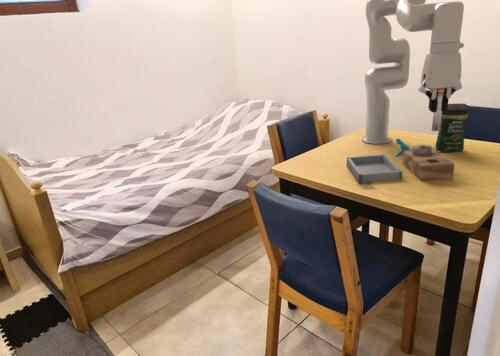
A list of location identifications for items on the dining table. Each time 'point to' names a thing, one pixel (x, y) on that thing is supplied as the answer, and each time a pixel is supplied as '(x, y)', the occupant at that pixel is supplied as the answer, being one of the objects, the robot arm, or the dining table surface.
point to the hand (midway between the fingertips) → (437, 110)
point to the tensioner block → (427, 163)
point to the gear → (402, 147)
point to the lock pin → (438, 110)
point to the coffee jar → (452, 129)
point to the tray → (373, 168)
